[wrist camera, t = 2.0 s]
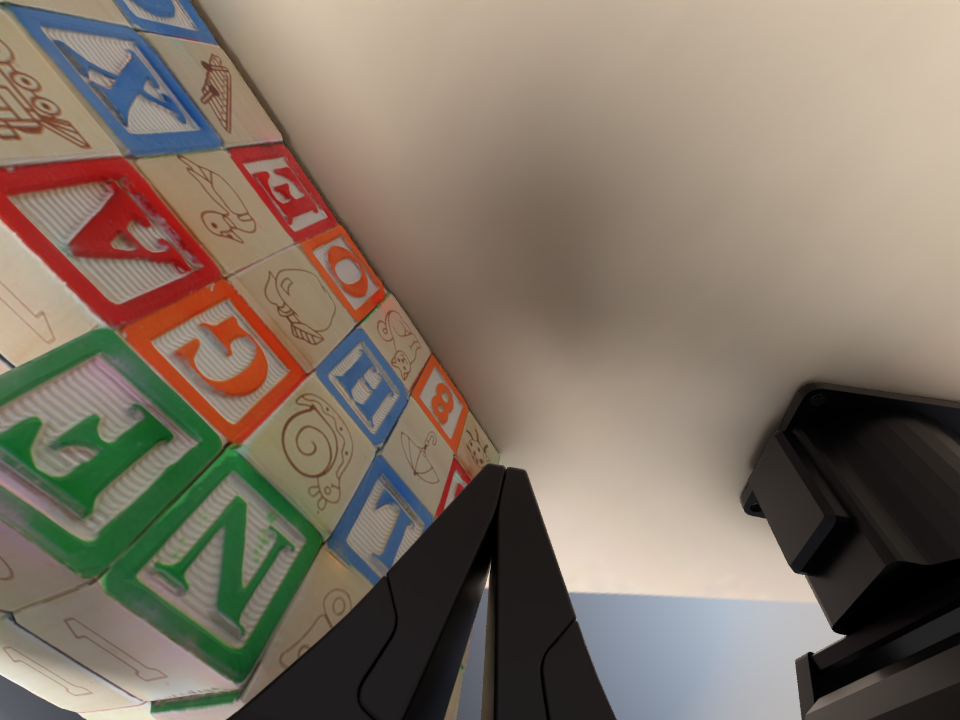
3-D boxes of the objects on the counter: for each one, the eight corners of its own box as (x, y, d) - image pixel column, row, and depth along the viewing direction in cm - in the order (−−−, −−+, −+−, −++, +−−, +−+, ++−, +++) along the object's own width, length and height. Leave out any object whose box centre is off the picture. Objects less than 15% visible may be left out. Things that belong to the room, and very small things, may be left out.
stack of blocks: (47, 68, 15) (-1296, -60, 4) (149, -69, 12) (-2445, -1235, 2) (401, 491, 22) (254, 831, 12) (505, 457, 20) (440, 845, 9)
